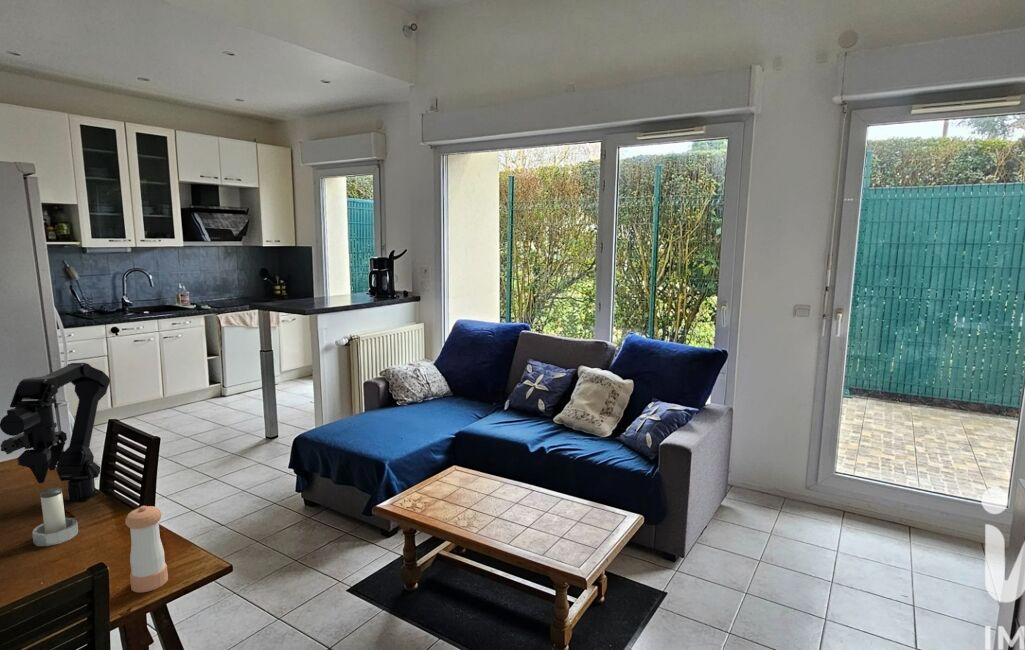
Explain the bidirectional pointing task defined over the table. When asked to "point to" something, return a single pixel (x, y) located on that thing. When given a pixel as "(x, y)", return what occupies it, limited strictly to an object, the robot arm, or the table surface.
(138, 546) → the pepper shaker
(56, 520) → the peg
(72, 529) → the collar
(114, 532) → the table surface
